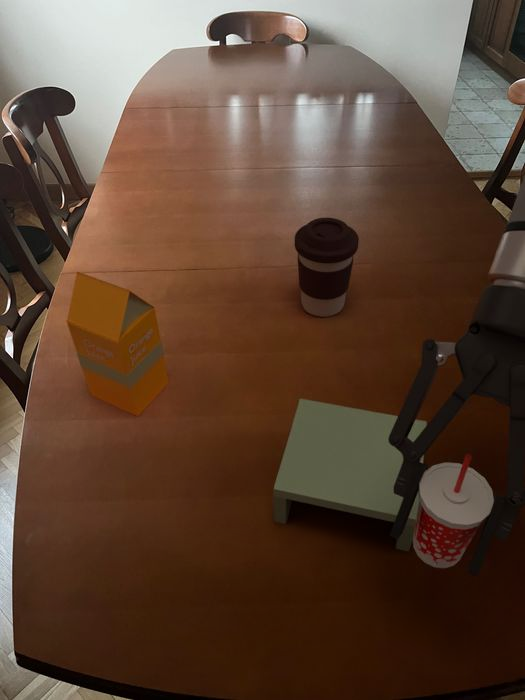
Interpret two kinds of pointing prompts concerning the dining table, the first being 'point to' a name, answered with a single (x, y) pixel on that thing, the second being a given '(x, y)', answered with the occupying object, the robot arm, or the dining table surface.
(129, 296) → the orange juice
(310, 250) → the coffee cup
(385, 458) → the shelf
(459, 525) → the beverage cup
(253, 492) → the dining table surface
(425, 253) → the dining table surface
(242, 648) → the dining table surface
